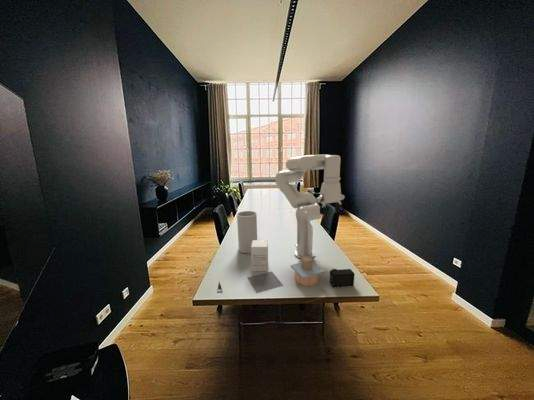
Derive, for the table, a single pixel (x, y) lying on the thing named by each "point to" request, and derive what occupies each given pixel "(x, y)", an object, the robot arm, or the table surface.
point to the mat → (264, 282)
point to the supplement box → (259, 255)
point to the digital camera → (341, 278)
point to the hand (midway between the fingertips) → (329, 213)
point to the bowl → (306, 280)
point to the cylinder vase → (246, 230)
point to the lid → (306, 268)
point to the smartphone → (219, 288)
